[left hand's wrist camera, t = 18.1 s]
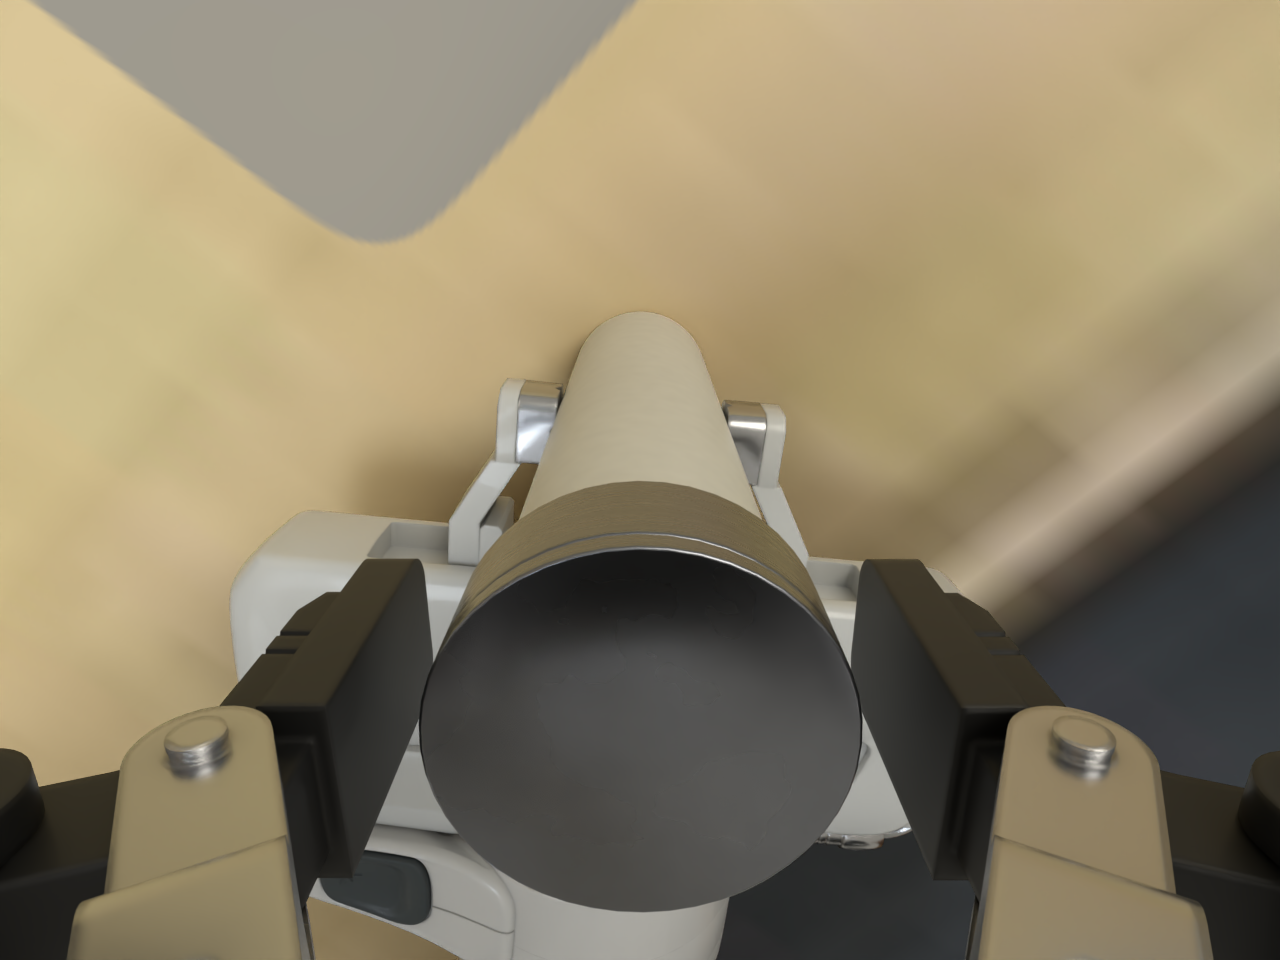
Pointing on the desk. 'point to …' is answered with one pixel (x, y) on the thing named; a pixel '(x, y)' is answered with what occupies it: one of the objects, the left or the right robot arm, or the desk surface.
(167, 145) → the desk surface
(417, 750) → the right robot arm
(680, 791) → the lid
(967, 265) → the desk surface
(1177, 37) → the desk surface
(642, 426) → the beige tapered cylinder
